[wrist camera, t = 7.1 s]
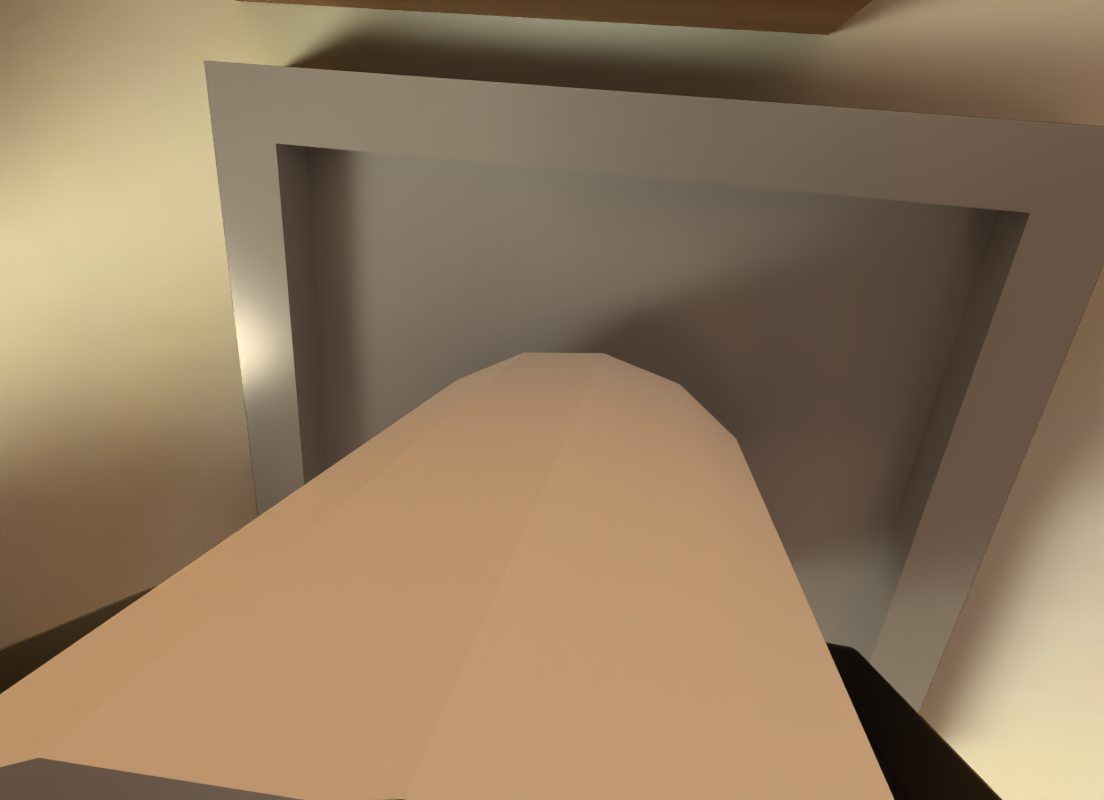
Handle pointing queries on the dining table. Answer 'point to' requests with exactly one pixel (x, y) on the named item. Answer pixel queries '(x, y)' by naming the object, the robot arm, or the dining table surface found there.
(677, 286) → the tray
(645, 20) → the wooden pieces
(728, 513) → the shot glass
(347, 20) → the dining table surface
